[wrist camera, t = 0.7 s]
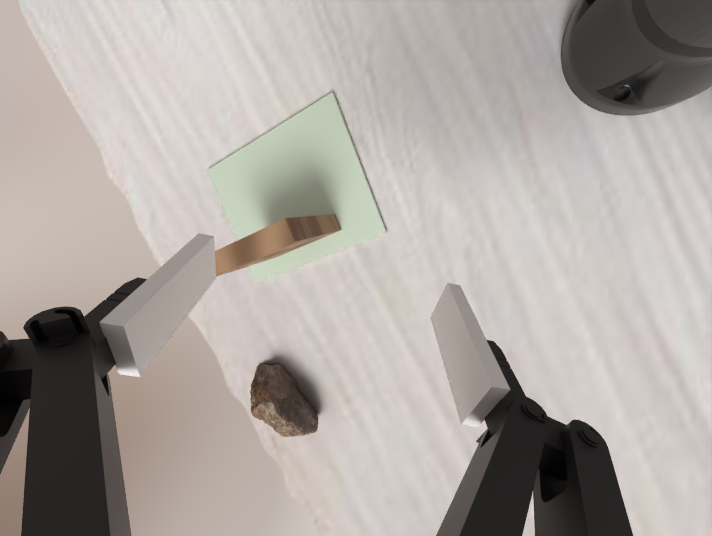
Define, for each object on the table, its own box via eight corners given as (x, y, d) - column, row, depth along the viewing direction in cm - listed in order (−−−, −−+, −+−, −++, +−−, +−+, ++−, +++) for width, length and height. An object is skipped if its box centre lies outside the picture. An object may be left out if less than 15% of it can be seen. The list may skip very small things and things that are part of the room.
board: (335, 213, 41) (284, 218, 28) (341, 229, 41) (294, 241, 28) (270, 242, 45) (200, 258, 32) (277, 257, 45) (209, 278, 32)
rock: (285, 346, 51) (251, 370, 54) (253, 368, 43) (216, 395, 46) (331, 414, 50) (293, 434, 53) (307, 450, 42) (265, 471, 45)
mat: (334, 94, 38) (332, 92, 37) (387, 232, 40) (386, 232, 39) (209, 171, 46) (206, 170, 46) (258, 282, 48) (255, 283, 48)
